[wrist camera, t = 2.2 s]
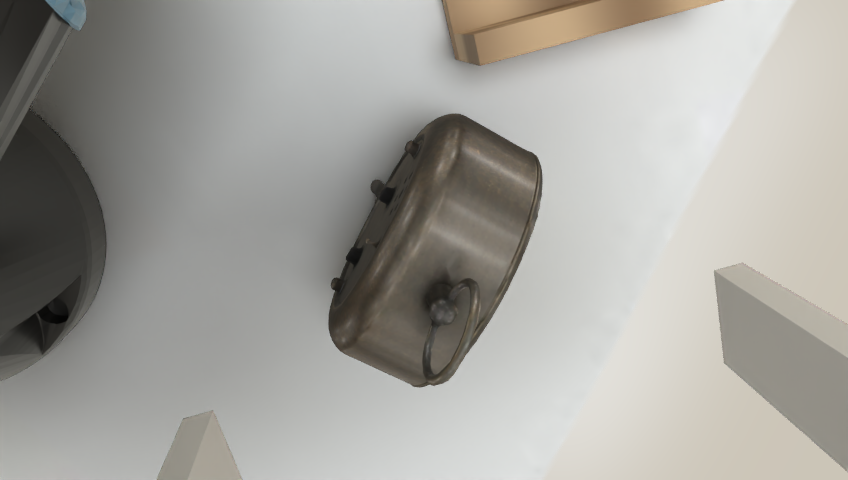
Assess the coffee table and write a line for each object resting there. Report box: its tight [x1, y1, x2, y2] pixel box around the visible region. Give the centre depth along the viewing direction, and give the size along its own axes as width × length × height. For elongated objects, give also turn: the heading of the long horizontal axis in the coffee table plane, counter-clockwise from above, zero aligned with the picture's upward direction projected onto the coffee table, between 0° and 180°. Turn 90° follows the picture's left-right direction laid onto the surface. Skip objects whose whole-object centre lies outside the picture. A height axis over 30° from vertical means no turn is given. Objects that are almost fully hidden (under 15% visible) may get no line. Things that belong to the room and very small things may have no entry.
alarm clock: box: [328, 114, 542, 387], centre depth 25 cm, size 11×5×16 cm, turn 151°
